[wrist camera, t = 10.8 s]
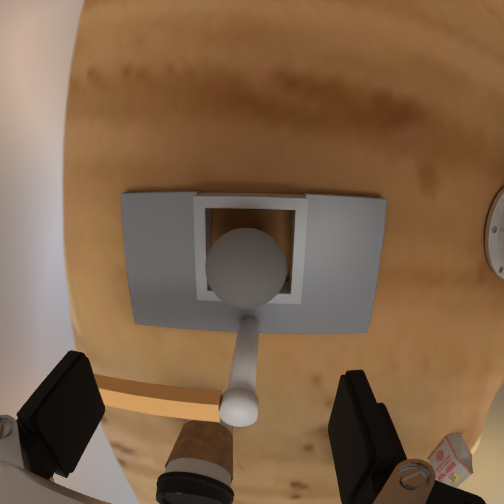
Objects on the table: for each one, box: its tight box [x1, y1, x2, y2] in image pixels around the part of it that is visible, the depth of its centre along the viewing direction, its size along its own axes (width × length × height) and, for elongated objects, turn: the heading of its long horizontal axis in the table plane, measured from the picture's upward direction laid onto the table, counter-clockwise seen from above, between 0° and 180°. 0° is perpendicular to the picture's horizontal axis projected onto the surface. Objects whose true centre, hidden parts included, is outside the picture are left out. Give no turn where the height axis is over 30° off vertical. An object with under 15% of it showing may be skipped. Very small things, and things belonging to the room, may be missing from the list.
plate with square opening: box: [121, 190, 387, 393], centre depth 24 cm, size 25×14×12 cm, turn 89°
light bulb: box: [205, 228, 287, 308], centre depth 25 cm, size 6×6×10 cm
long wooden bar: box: [94, 374, 258, 427], centre depth 19 cm, size 3×14×2 cm, turn 90°
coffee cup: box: [156, 419, 234, 504], centre depth 30 cm, size 8×8×15 cm
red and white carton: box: [428, 433, 473, 488], centre depth 34 cm, size 4×7×10 cm, turn 170°
